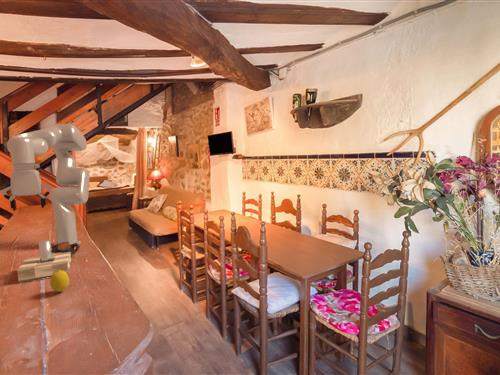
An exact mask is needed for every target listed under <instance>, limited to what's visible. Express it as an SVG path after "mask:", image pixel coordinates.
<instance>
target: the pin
mask: <svg viewBox="0 0 500 375" xmlns="http://www.w3.org/2000/svg"><path fill="white" fill-rule="evenodd" d="M51 247H52V242H51V240H50V239H43V240H40V241H38V249H39V256H40V263H45V262H51V261H52V254H53V253H52V252H51V250H52V248H51Z"/></svg>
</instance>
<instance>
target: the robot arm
mask: <svg viewBox="0 0 500 375" xmlns="http://www.w3.org/2000/svg"><path fill="white" fill-rule="evenodd" d="M50 147H51V148H52V150H53V152H54V154H55V156H56V159H57V163H56V164H57V167H56V174H55V182H56V184H58V185H59V186H56V187H54V188H52V186H49V185H46V184H43V183H42V180H41V179H42V178H41V175H40V171H39V170H37V169H38V168H40V166H41V165H40V164H37V163H36V159H35V156H42V155H45V154H46V153H47V152H48V150H49V148H50ZM87 147H88V142H87V139H86V137H85V136H84V134H83V132H82V131H81V130H80V129H79V128H78V127H77V126H76V125H74V124H71V123H65V124H64V123H57V124H56V123H54V124H49V125H47V126H45V127H43V128H42V129H38V130H32V131H29V132H24V133H19V134H16V135H14V136H12V137H10V138H9V139H8V141H7V142H6V148H7V151H8V152H9V153H10V158H11V165H12V171H11V173H10V186H8V187H6V188H3V189H1V190H0V194H1V195H2V196H3V198H4V199H6V200H8V201H9V203H10V209H11V210H12V211H13V212H14V211H17V201H16V199H15V198H16V197H22V196H35V195H38V196H39V197H40V205H41V209H43V208H45V206H47V202H46V197H48V196H49V198H50V202H51V205H52V209H53V218H54V229H55V240H56V243H54V244H53V245H52V246H54V245H56V244H59V243H62V242H69V244H73V243H78V244H79V245H81V244H82V242H81V240H78V233H77V220H76V213H75V211H76V210H74V208H73V207H72V206H71V205H83V204H86V203H87V202H88V200H89V193H90V179H91V178H90V177H91V176H90V173H89V170H88V169H87V168H85V167H76V164H77V161H76V159H75V157H74V156H73V155H72V154H71V153H70V152H82V151H85V150H86V149H87ZM43 189H46V192H45V193H43ZM8 191H11V195H9V194H8V193H7V192H8Z"/></svg>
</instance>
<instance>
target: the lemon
mask: <svg viewBox="0 0 500 375" xmlns="http://www.w3.org/2000/svg"><path fill="white" fill-rule="evenodd" d="M69 285H70V277H69V275H68V274H67V273H66V272H65V271H61V270H58V271H57V272H55V273H54V274H53V275H52V276H51V278H50V287H51V289H52V290H53V291H55V292H59V293H62V292H64V291H65V290H66V289H67V288H68V287H69ZM61 291H62V292H61Z"/></svg>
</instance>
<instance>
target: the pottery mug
mask: <svg viewBox="0 0 500 375" xmlns="http://www.w3.org/2000/svg"><path fill="white" fill-rule="evenodd" d="M55 244H56V243H55ZM53 245H54V244H53ZM53 245H51V252H52V254H59V253H66V252H71V257H72V258H73V255H75V254H76V253H77V252H78V251H79V250H80V247H81V246H80V244H78V243H73V244H69V242H62V243H59V244H56V245H54V246H53ZM75 247H76V248H75Z"/></svg>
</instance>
